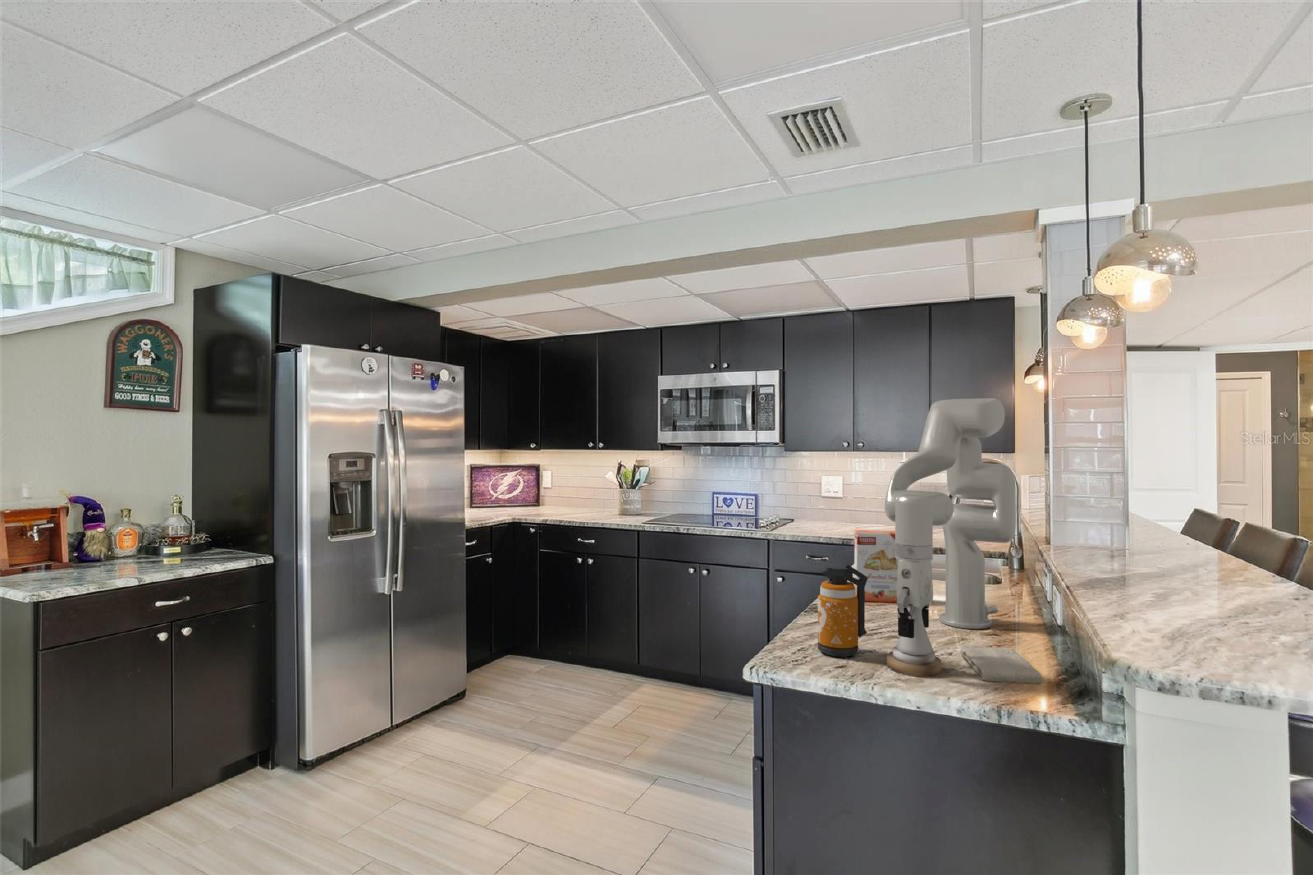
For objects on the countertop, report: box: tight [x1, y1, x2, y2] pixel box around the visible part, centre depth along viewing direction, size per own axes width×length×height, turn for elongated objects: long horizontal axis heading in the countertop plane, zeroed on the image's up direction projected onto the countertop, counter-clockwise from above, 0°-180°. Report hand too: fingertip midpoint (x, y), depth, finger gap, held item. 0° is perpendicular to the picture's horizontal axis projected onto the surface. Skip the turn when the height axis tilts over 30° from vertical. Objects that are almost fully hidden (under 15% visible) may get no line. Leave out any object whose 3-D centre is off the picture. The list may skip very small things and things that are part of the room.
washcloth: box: [959, 645, 1043, 684], centre depth 145 cm, size 12×18×3 cm, turn 171°
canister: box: [817, 564, 868, 658], centre depth 155 cm, size 9×11×20 cm
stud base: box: [886, 646, 942, 678], centre depth 145 cm, size 11×11×4 cm
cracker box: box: [853, 529, 899, 604], centre depth 203 cm, size 14×6×21 cm, turn 81°
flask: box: [895, 603, 935, 655], centre depth 145 cm, size 7×7×10 cm
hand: (913, 631), depth 145 cm, fingers open, 9 cm apart
